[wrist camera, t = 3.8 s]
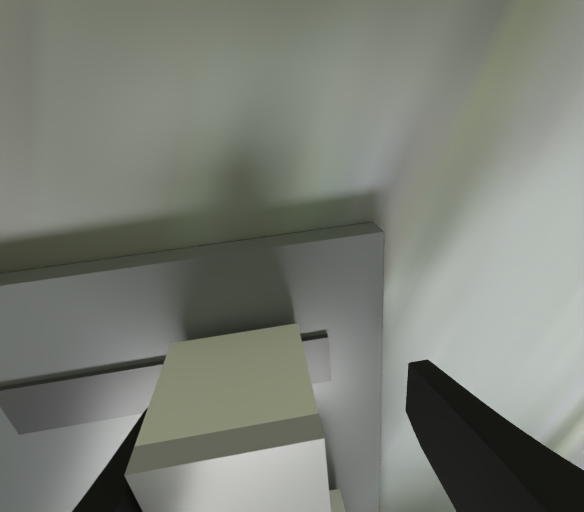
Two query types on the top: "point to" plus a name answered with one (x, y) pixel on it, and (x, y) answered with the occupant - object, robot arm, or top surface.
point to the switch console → (177, 328)
